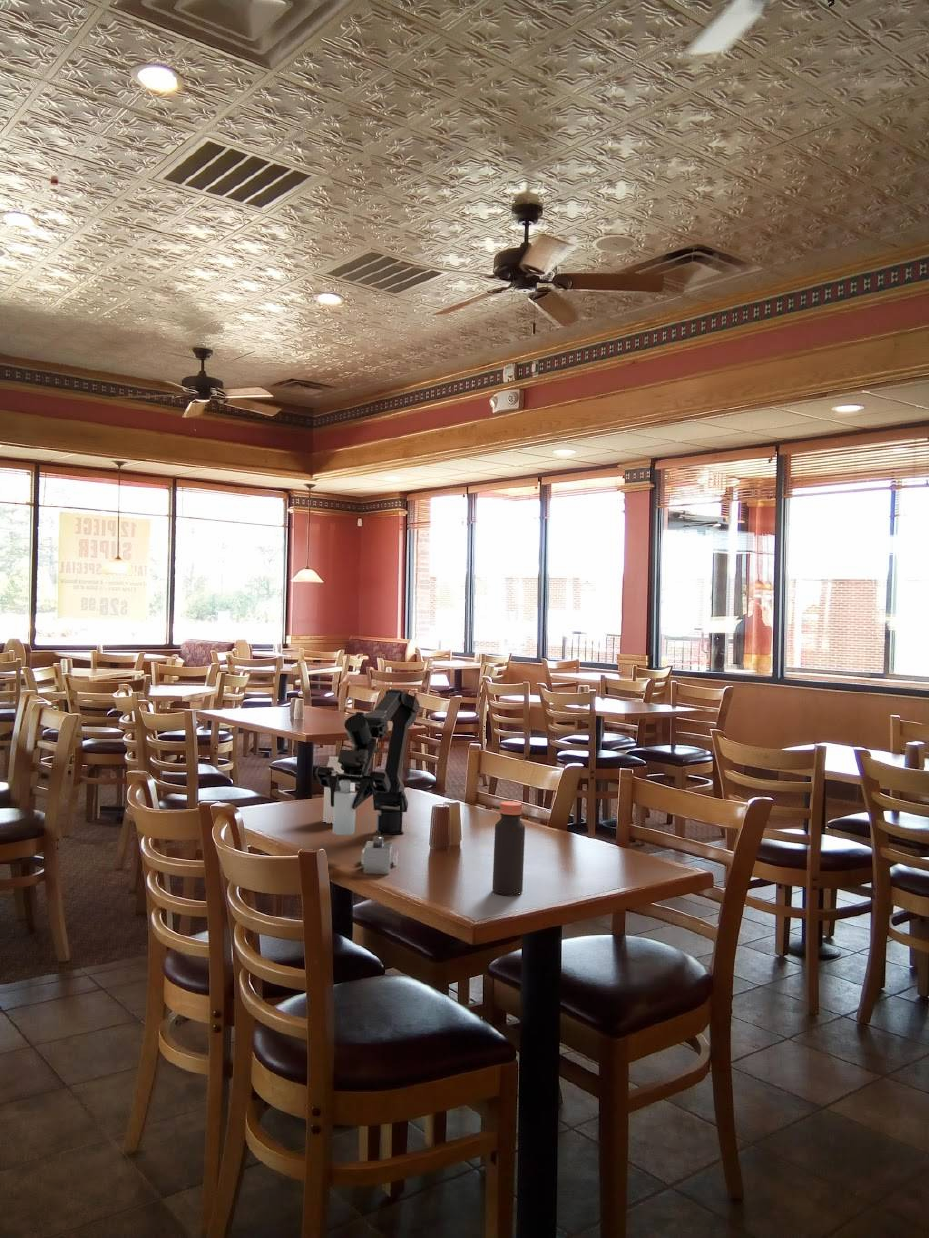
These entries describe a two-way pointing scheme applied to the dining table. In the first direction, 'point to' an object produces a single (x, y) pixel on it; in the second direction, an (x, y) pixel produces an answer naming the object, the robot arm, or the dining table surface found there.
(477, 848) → the dining table surface
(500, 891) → the bottle
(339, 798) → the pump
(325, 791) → the milk carton
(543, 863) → the dining table surface
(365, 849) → the motor
